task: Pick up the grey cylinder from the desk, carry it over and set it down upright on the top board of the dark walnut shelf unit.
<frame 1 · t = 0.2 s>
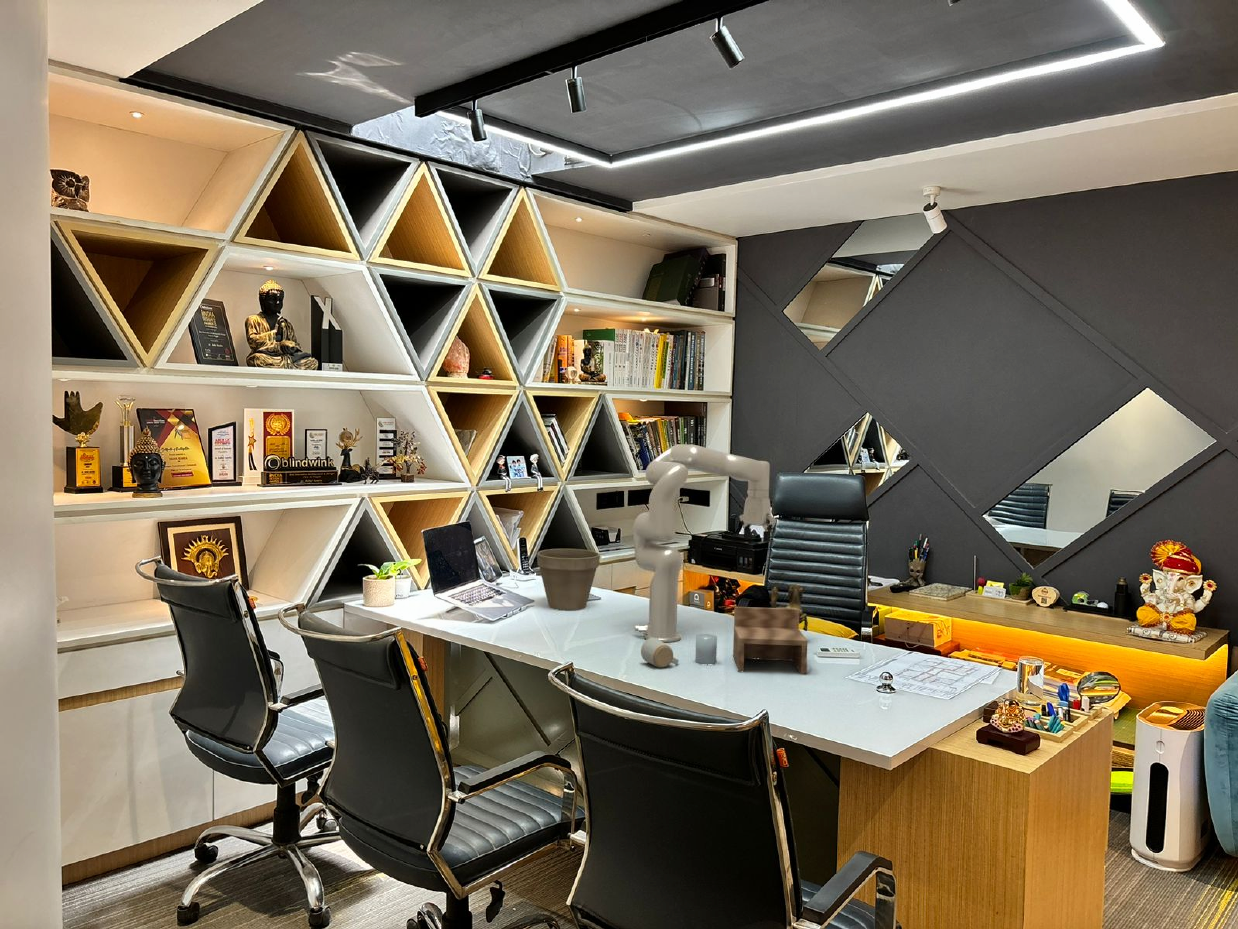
hand: (756, 540, 335), 31 cm above the table, tool pointing down, fingers open, 9 cm apart
figurine: (781, 644, 305), on the table
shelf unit: (768, 666, 276), on the table
grey cylinder: (705, 662, 278), on the table
plant pot: (567, 607, 358), on the table
ceramic mug: (660, 665, 274), on the table
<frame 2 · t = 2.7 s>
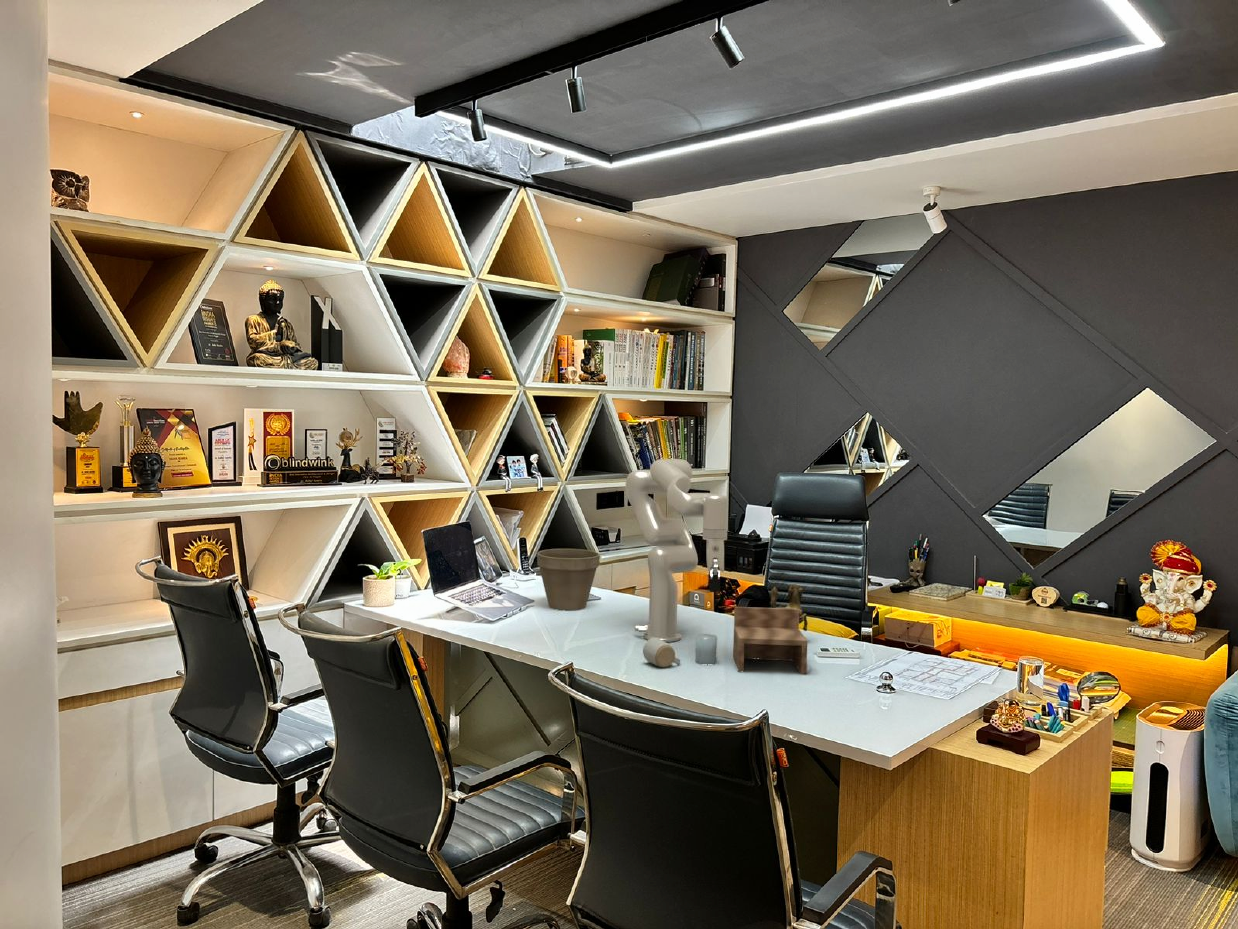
hand: (714, 589, 282), 22 cm above the table, tool pointing down, fingers open, 9 cm apart
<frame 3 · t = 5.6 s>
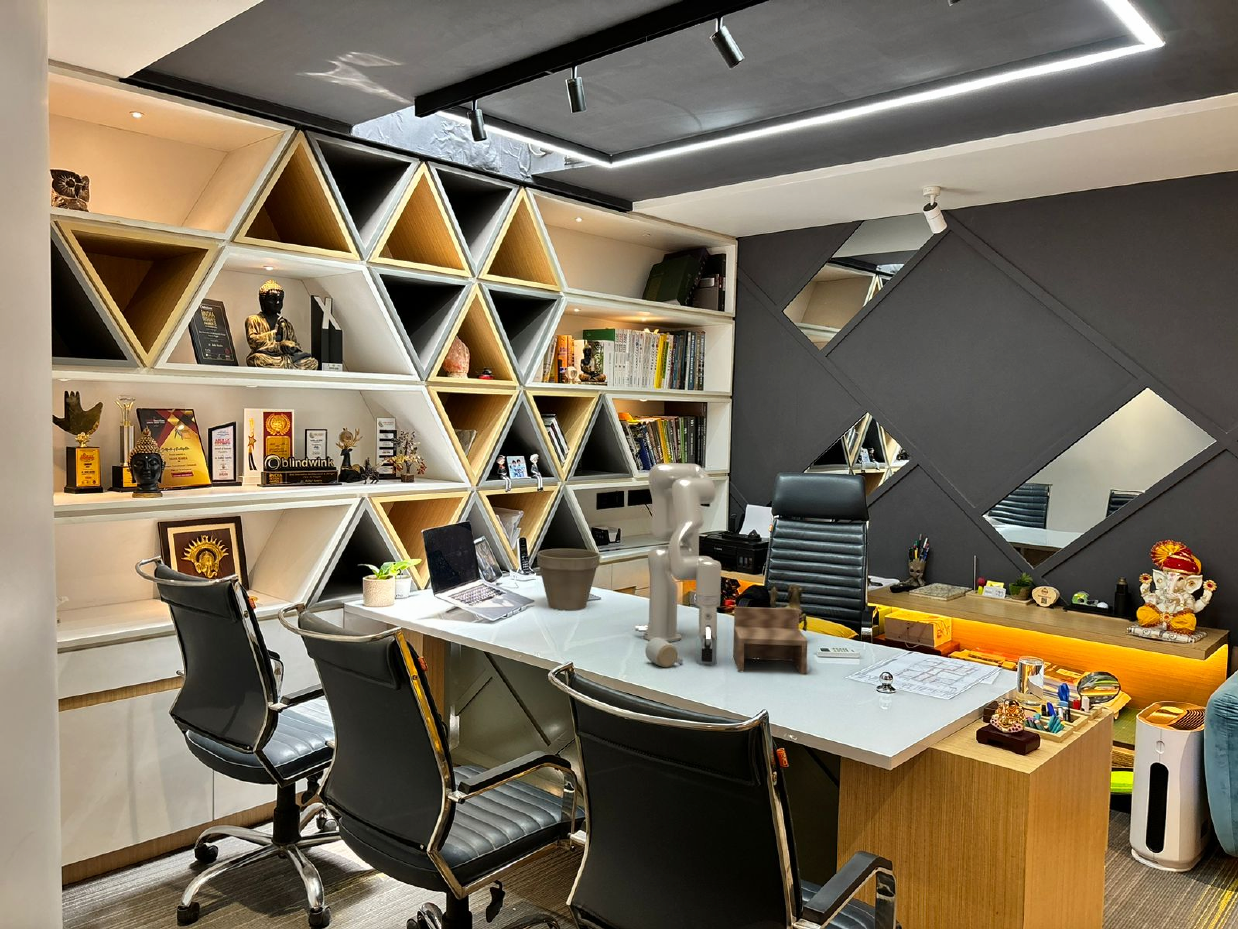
hand: (706, 658, 278), 1 cm above the table, tool pointing down, fingers closed on grey cylinder, 6 cm apart
grey cylinder: (705, 662, 278), on the table, touching gripper
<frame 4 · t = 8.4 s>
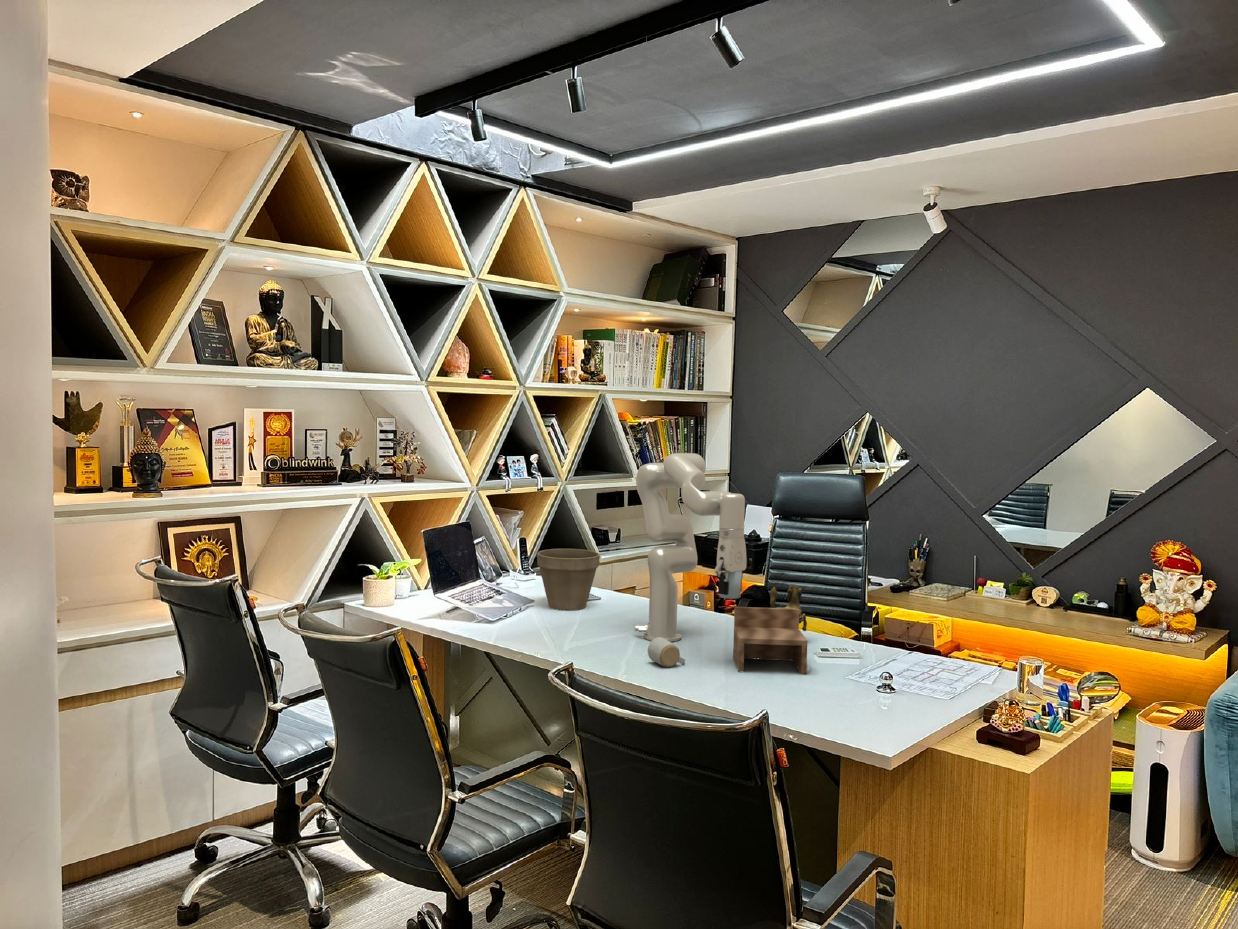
hand: (730, 592, 276), 22 cm above the table, tool pointing down, fingers closed on grey cylinder, 6 cm apart
grey cylinder: (729, 596, 276), point 21 cm above the table, touching gripper
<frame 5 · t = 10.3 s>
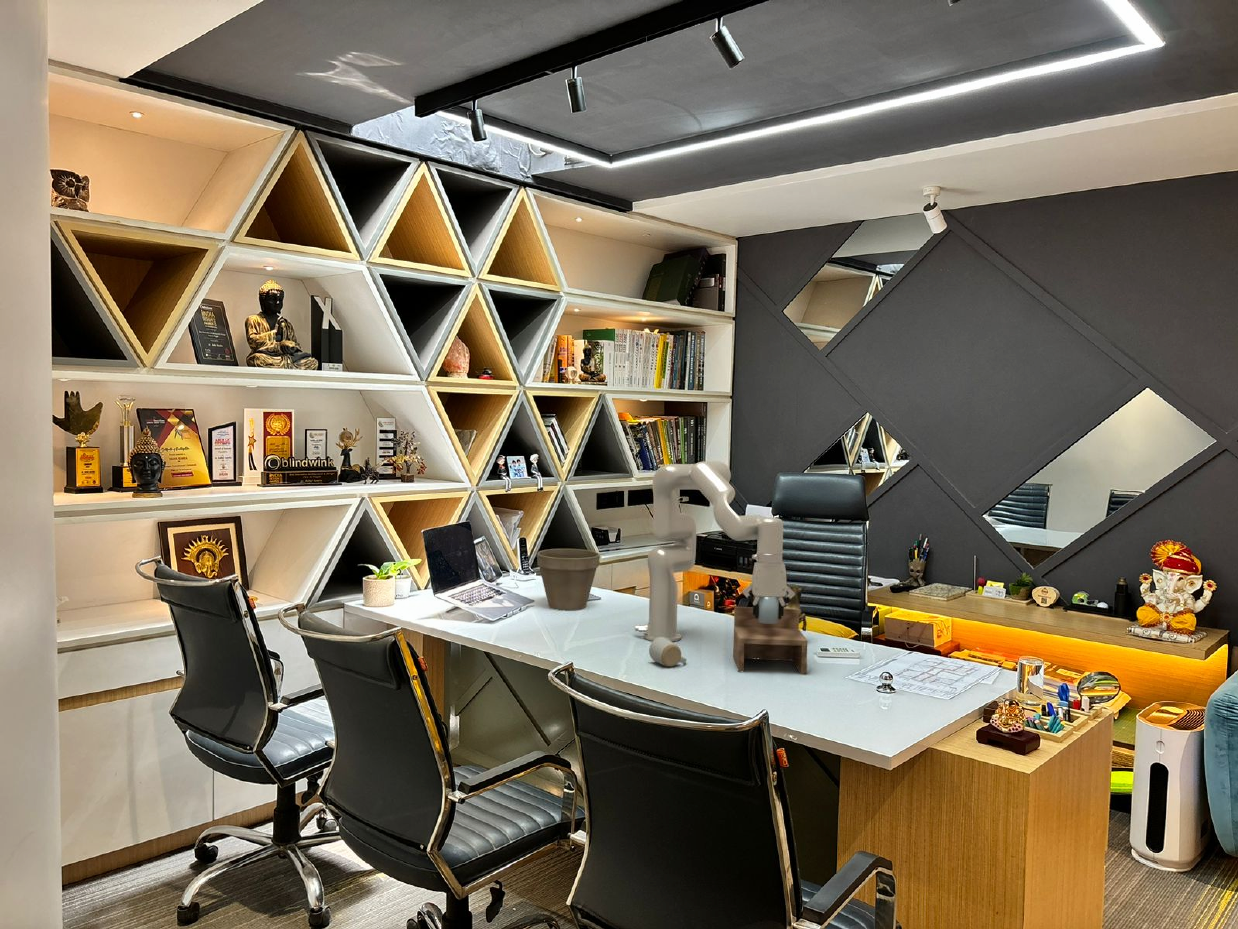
hand: (767, 617, 274), 15 cm above the table, tool pointing down, fingers closed on grey cylinder, 6 cm apart
grey cylinder: (767, 621, 274), point 14 cm above the table, touching gripper
when the fingers open (13 cm above the table, at t = 11.6 s): grey cylinder drops 2 cm, resting on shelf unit.
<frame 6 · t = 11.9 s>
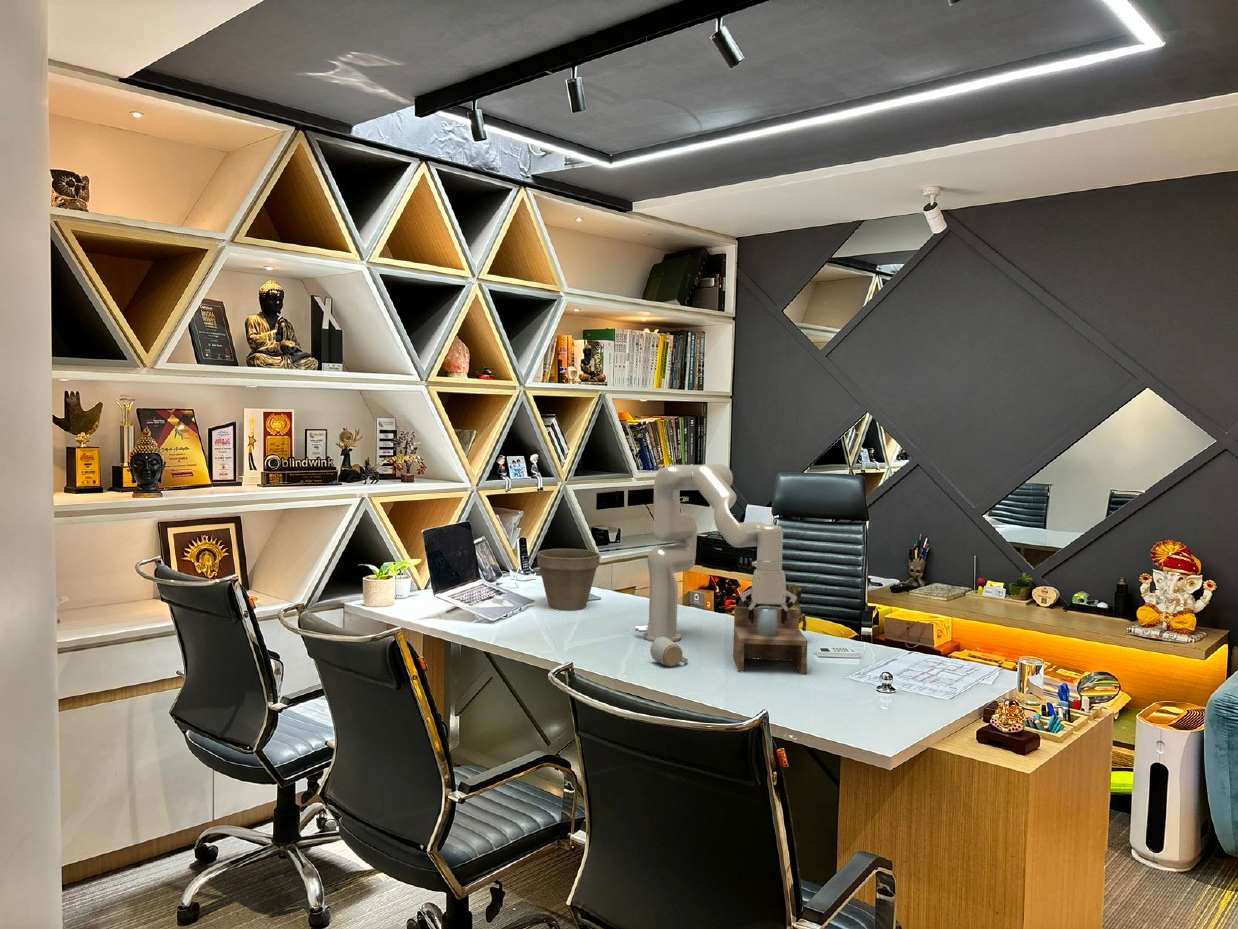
hand: (767, 622, 274), 13 cm above the table, tool pointing down, fingers open, 9 cm apart
grey cylinder: (766, 634, 274), point 10 cm above the table, touching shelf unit
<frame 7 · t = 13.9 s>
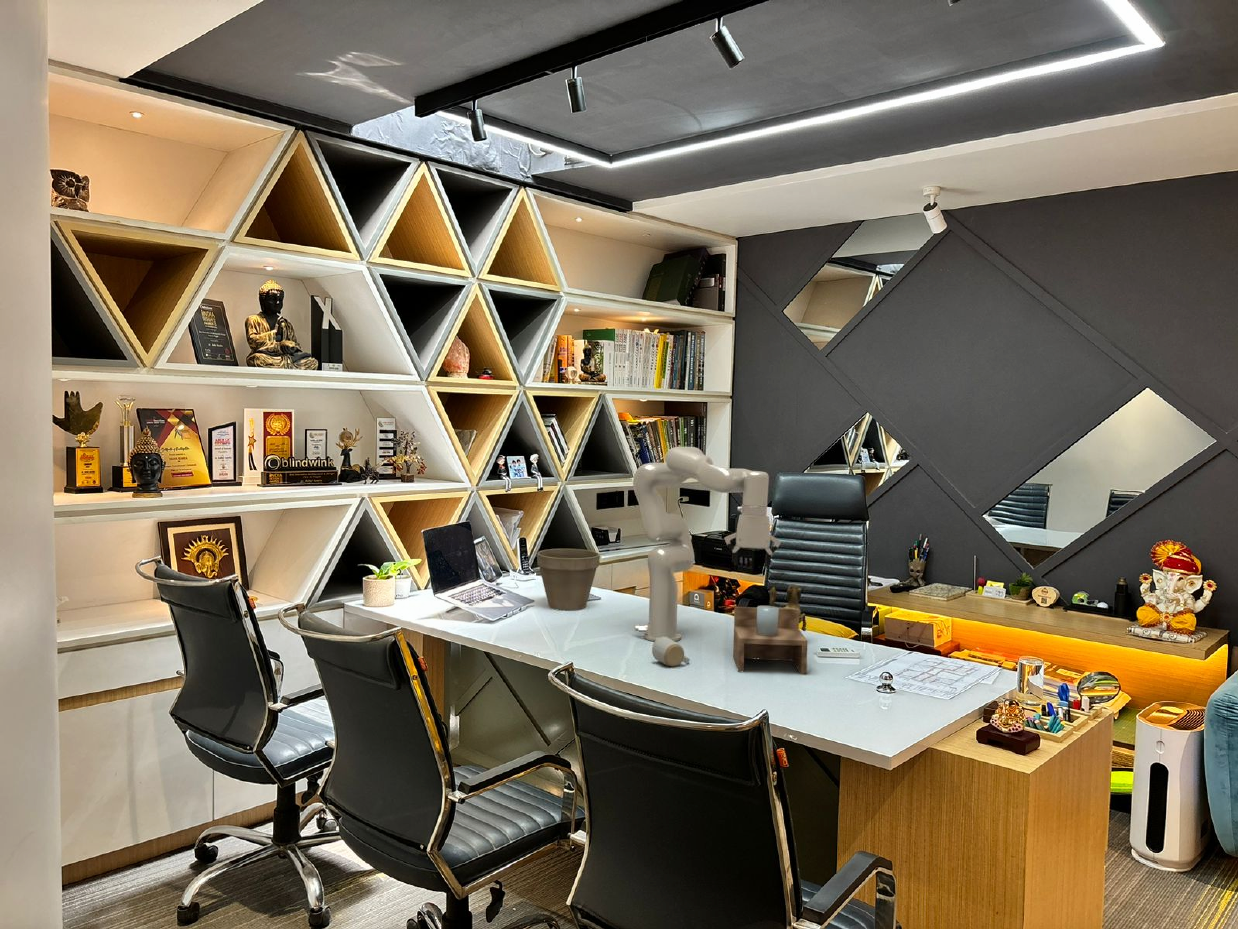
hand: (751, 566, 281), 29 cm above the table, tool pointing down, fingers open, 9 cm apart
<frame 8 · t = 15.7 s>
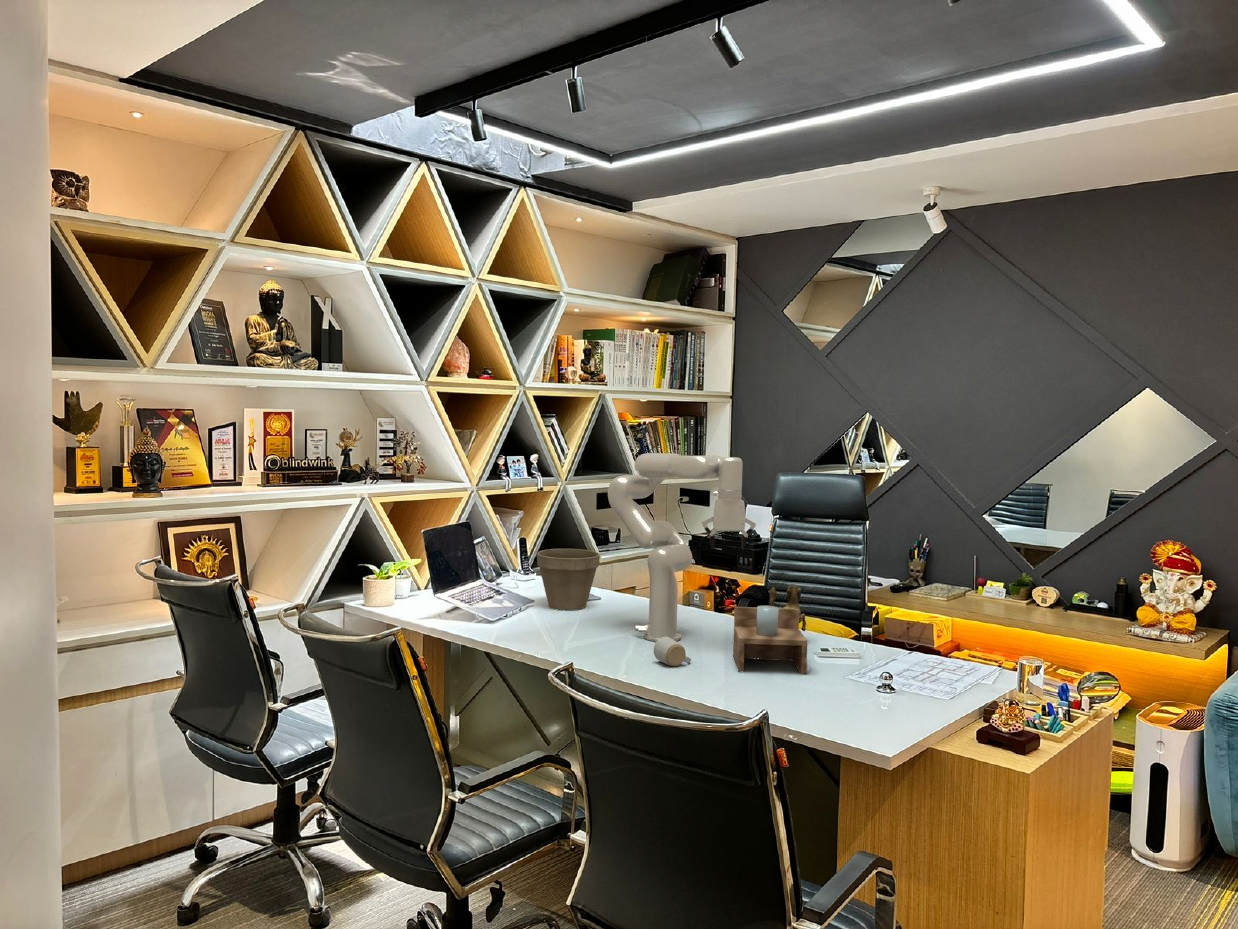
hand: (728, 548, 292), 33 cm above the table, tool pointing down, fingers open, 9 cm apart
at the end: grey cylinder inside the target area on the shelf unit (1.2 cm from its centre), point 10.0 cm above the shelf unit's base; grey cylinder tilted 1°; the gripper is holding nothing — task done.
